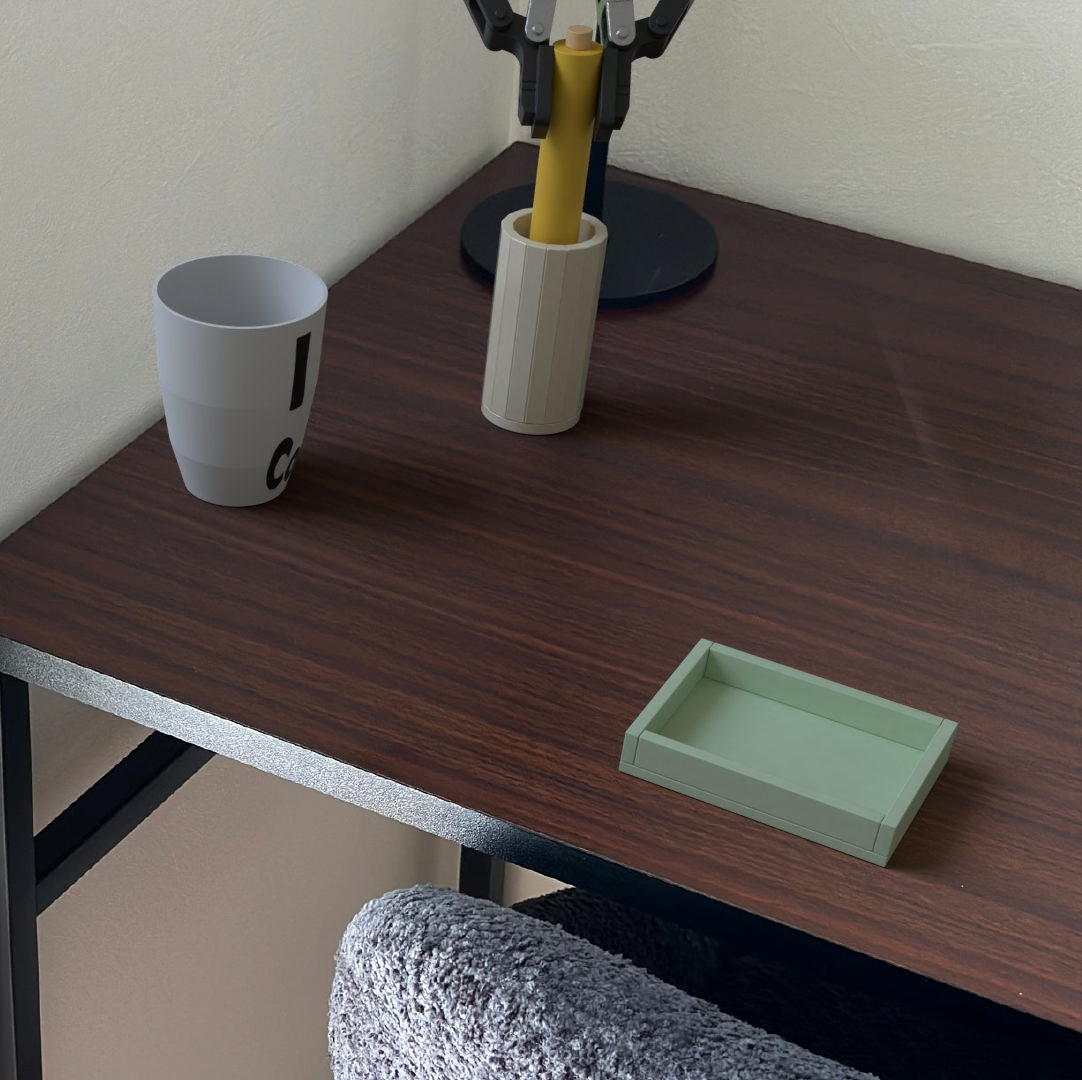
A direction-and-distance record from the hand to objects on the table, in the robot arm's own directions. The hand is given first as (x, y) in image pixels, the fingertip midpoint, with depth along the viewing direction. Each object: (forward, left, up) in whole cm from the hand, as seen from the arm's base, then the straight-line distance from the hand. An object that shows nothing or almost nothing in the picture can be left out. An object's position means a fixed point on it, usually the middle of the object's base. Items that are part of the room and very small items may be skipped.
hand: (572, 131), depth 98 cm
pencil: (0, -2, -11) cm, 11 cm away
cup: (+15, +7, -16) cm, 23 cm away
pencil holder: (0, -2, -16) cm, 16 cm away
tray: (-9, +28, -16) cm, 33 cm away
